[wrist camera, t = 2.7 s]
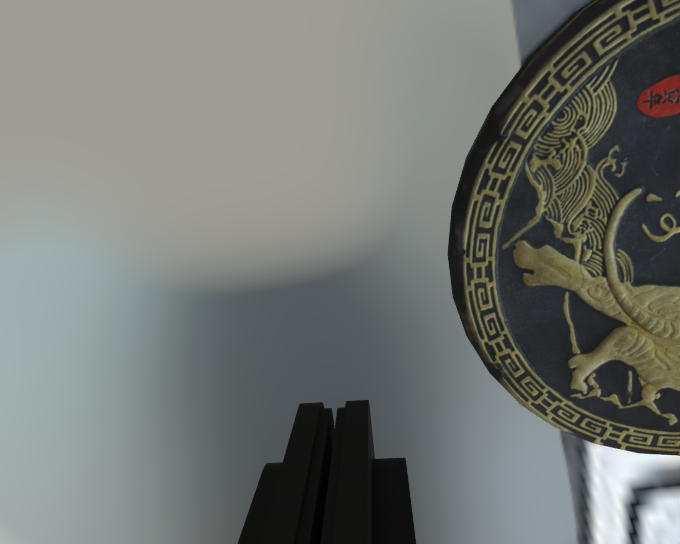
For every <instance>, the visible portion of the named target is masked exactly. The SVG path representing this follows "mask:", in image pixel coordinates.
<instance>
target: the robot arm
mask: <svg viewBox="0 0 680 544" xmlns="http://www.w3.org/2000/svg"><path fill="white" fill-rule="evenodd" d="M238 544H416V539H415V531H414V523H413V515H412V507H411V499H410V491H409V482H408V474H407V466H406V459H405V458H390V459H389V458H388V459H375V455H374V445H373V435H372V425H371V416H370V406H369V400H361V401H360V400H358V401H346V406H345V407H344V408H338V409H337V417H336V425H335V428H334V421H333V414H332V409H331V408H325V409H324V405H323V403H322V402H320V403H304V404H303V403H302V404H300V405H299V407H298V411H297V414H296V418H295V421H294V425H293V428H292V432H291V435H290V439H289V442H288V446H287V449H286V454H285V457H284V460H283V463H267V464H266V465H265V467H264V469H263V471H262V474H261V477H260V480H259V483H258V486H257V489H256V492H255V494H254V497H253V500H252V503H251V506H250V509H249V512H248V515H247V518H246V521H245V524H244V527H243V530H242V533H241V535H240V538H239V541H238Z"/></svg>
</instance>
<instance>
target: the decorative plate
mask: <svg viewBox="0 0 680 544" xmlns="http://www.w3.org/2000/svg"><path fill="white" fill-rule="evenodd" d="M448 261H449V269H450V277H451V285H452V294H453V299H454V301H455V304H456V307H457V310H458V313H459V316H460V319H461V321H462V324H463V327H464V330H465V333H466V335H467V337H468V339H469V341H470V342H471V344H472V345H473V347H474V349H475V350H476V352H477V353H478V355H479V356H480V358H481V360H482V361H483V363H484V365H485V366H486V368H487V369H488V371H489V373H490V374H491V375H492V376H493V377H494V378H495V379H496V380H497V381H498V382H499V383H500V384H501V385H502V386H503V387H504V388H505V389H506V390H507V391H508V392H509V393H510V394H511V395H512V396H513V397H514V398H515V399H516V400H517V401H518V402H519V403H520V404H521V405H522V406H524V407H525V408H527V409H528V410H529V411H531V412H533V413H534V414H536V415H537V416H539V417H540V418H542V419H543V420H545V421H546V422H548V423H549V424H551V425H552V426H554V427H555V428H558V429H560V430H563V431H565V432H568V433H570V434H572V435H575V436H577V437H580V438H582V439H584V440H587V441H589V442H592V443H595V444H599V445H603V446H608V447H613V448H617V449H622V450H626V451H631V452H636V453H644V454H661V455H679V456H680V0H593V1H592V2H591V3H589V4H588V5H586V6H585V7H583V8H582V9H580V10H579V11H577V12H576V13H575V14H574V15H573V16H571V17H570V18H569V19H568V20H567V21H566V22H565V23H564V24H563V25H562V26H561V27H560V28H559V29H558V30H557V31H556V32H555V33H554V34H553V35H552V36H551V37H550V38H549V39H548V40H547V41H545V42H544V43H543V44H542V45H541V46H540V47H539V48H538V49H537V50H536V51H535V52H534V53H533V54H532V55H531V56H530V57H529V58H528V59H527V60H526V62H525V63H524V64H523V66H522V67H521V68H520V70H519V71H518V72H517V74H516V75H515V77H514V78H513V79H512V80H511V82H510V83H509V85H508V86H507V87H506V89H505V90H504V91H503V93H502V94H501V95H500V97H499V98H498V99H497V101H496V102H495V103H494V105H493V106H492V108H491V110H490V111H489V113H488V115H487V118H486V119H485V121H484V124H483V125H482V127H481V129H480V131H479V133H478V135H477V137H476V139H475V141H474V143H473V145H472V147H471V149H470V151H469V153H468V155H467V157H466V160H465V164H464V167H463V171H462V174H461V177H460V181H459V184H458V187H457V191H456V195H455V198H454V201H453V205H452V211H451V222H450V234H449V245H448Z"/></svg>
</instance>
